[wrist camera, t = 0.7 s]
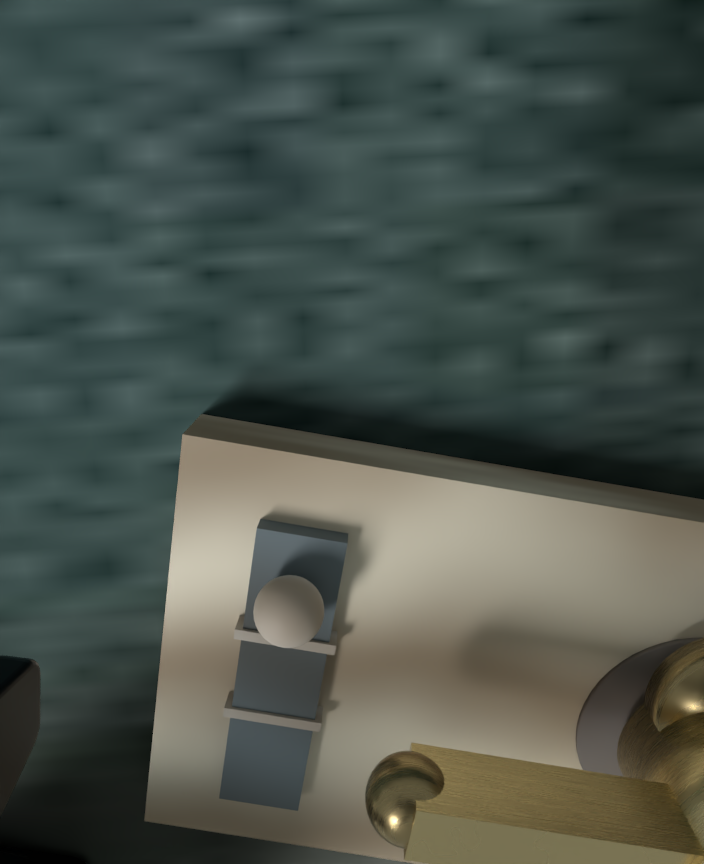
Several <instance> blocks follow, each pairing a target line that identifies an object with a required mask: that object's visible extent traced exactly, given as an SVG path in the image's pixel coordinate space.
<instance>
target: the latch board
mask: <svg viewBox="0 0 704 864" xmlns="http://www.w3.org/2000/svg"><path fill="white" fill-rule="evenodd" d="M701 638H704V500H703V499H697V498H691V497H685V496H679V495H673V494H668V493H662V492H656V491H650V490H644V489H638V488H632V487H627V486H621V485H615V484H609V483H603V482H597V481H591V480H586V479H580V478H574V477H568V476H562V475H556V474H550V473H545V472H539V471H533V470H527V469H521V468H515V467H509V466H504V465H498V464H492V463H486V462H480V461H474V460H468V459H463V458H457V457H451V456H445V455H439V454H433V453H427V452H421V451H416V450H410V449H404V448H398V447H392V446H386V445H380V444H375V443H369V442H363V441H357V440H351V439H345V438H339V437H334V436H328V435H322V434H316V433H310V432H304V431H298V430H293V429H287V428H281V427H275V426H269V425H263V424H257V423H252V422H246V421H240V420H234V419H228V418H222V417H216V416H211V415H205V414H201V415H200V416H199V417H198V418H197V419H196V420H195V422H194V423H193V424H192V425H191V426H190V427H189V428H188V429H187V430H186V431H185V432H184V433H183V436H182V446H181V456H180V466H179V476H178V486H177V496H176V506H175V516H174V526H173V537H172V547H171V557H170V567H169V577H168V587H167V597H166V607H165V617H164V627H163V637H162V647H161V657H160V667H159V678H158V688H157V698H156V708H155V718H154V728H153V738H152V748H151V758H150V768H149V778H148V788H147V798H146V808H145V819H144V821H147V822H153V823H160V824H166V825H172V826H179V827H185V828H192V829H198V830H204V831H211V832H217V833H223V834H230V835H236V836H243V837H249V838H255V839H262V840H268V841H274V842H281V843H287V844H294V845H300V846H306V847H313V848H319V849H326V850H332V851H338V852H345V853H351V854H357V855H364V856H370V857H377V858H383V859H389V860H396V861H402V862H408V863H415V864H426V863H420V862H414V861H407V860H404V848H399V847H396V846H394V845H392V844H390V843H388V842H387V841H385V840H384V839H383V838H382V837H381V836H380V835H379V834H378V833H377V832H376V830H375V829H374V827H373V826H372V824H371V822H370V820H369V817H368V814H367V810H366V805H365V791H366V785H367V782H368V779H369V777H370V774H371V772H372V771H373V769H374V768H375V766H376V765H377V764H378V763H379V762H380V761H381V760H382V759H384V758H385V757H386V756H388V755H390V754H392V753H395V752H399V751H409V750H410V746H411V742H412V743H418V744H424V745H431V746H437V747H443V748H449V749H455V750H462V751H468V752H474V753H480V754H487V755H493V756H499V757H505V758H511V759H518V760H524V761H530V762H536V763H542V764H549V765H555V766H561V767H567V768H574V769H580V770H586V771H592V772H598V773H605V774H611V775H617V776H623V775H622V773H621V771H620V768H619V764H618V759H617V747H618V741H619V738H620V734H621V732H622V730H623V727H624V726H625V724H626V722H627V721H628V719H629V718H630V717H631V715H632V714H633V713H634V712H635V711H636V710H637V709H638V708H639V707H640V706H641V705H642V704H643V703H644V698H645V692H646V689H647V685H648V683H649V681H650V678H651V677H652V675H653V673H654V672H655V670H656V669H657V668H658V666H659V665H660V664H661V663H662V662H663V661H664V660H665V659H666V658H667V657H668V656H669V655H671V654H672V653H673V652H675V651H676V650H678V649H679V648H681V647H683V646H684V645H686V644H688V643H691V642H693V641H695V640H698V639H701Z"/></svg>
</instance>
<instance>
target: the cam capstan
mask: <svg viewBox="0 0 704 864" xmlns="http://www.w3.org/2000/svg"><path fill="white" fill-rule="evenodd" d="M617 759H618V764H619V768H620V771H621V773H622V775H623V776H617V775H611V774H605V773H598V772H592V771H586V770H580V769H574V768H567V767H561V766H555V765H549V764H542V763H536V762H530V761H524V760H518V759H511V758H505V757H499V756H493V755H487V754H480V753H474V752H468V751H462V750H455V749H449V748H443V747H437V746H431V745H424V744H418V743H412V742H411V746H410V750H409V751H399V752H395V753H392V754H390V755H388V756H386V757H385V758H384V759H382V760H381V761H380V762H379V763H378V764H377V765H376V766H375V768H374V769H373V771H372V772H371V774H370V777H369V779H368V782H367V785H366V791H365V805H366V810H367V814H368V817H369V820H370V822H371V824H372V826H373V827H374V829H375V830H376V832H377V833H378V834H379V835H380V836H381V837H382V838H383V839H384V840H385V841H387V842H388V843H390V844H392V845H394V846H396V847H399V848H404V860H407V861H414V862H420V863H426V864H704V638H701V639H698V640H695V641H693V642H691V643H688V644H686V645H684V646H683V647H681V648H679V649H678V650H676V651H675V652H673V653H672V654H671V655H669V656H668V657H667V658H666V659H665V660H664V661H663V662H662V663H661V664H660V665H659V666H658V668H657V669H656V670H655V672H654V673H653V675H652V677H651V678H650V681H649V683H648V685H647V689H646V692H645V698H644V703H643V704H642V705H641V706H640V707H639V708H638V709H637V710H636V711H635V712H634V713H633V714H632V715H631V717H630V718H629V719H628V721H627V722H626V724H625V726H624V727H623V730H622V732H621V734H620V738H619V741H618V747H617Z"/></svg>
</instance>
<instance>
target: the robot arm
mask: <svg viewBox="0 0 704 864" xmlns="http://www.w3.org/2000/svg"><path fill="white" fill-rule="evenodd" d="M39 727H40V668H39V665H38V663H37V662H36V661H35V660H33V659H28V658H20V657H13V656H0V817H1V815H2V813H3V811H4V809H5V806H6V804H7V802H8V800H9V798H10V796H11V794H12V791H13V789H14V787H15V785H16V783H17V781H18V779H19V776H20V774H21V772H22V770H23V768H24V766H25V764H26V761H27V759H28V757H29V755H30V753H31V751H32V749H33V746H34V744H35V742H36V739H37V736H38V732H39ZM0 864H86V863H85V862H84V861H83V860H81V859H78V858H74V857H67V856H61V855H54V854H48V853H41V852H35V851H28V850H22V849H16V848H9V847H3V846H0Z"/></svg>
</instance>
